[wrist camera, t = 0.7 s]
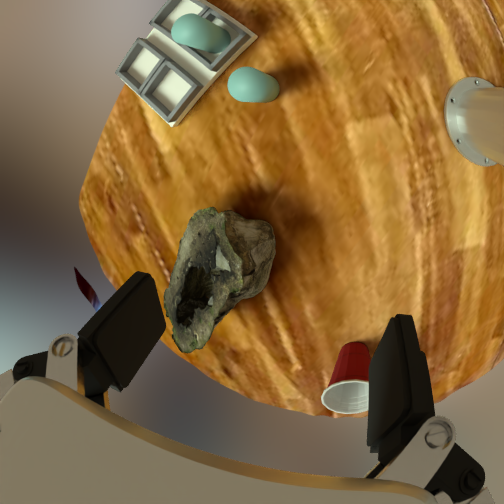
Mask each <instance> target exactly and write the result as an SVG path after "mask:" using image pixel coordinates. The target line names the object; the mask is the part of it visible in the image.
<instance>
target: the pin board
mask: <svg viewBox="0 0 504 504" xmlns="http://www.w3.org/2000/svg"><path fill="white" fill-rule="evenodd" d="M149 24H150V25H151V26H153V27H154V29H153V30H152V31H151V33H150V34H149V35H148V37H147V38H146V39H143V38H137V40H136V41H135V43H134V44H133V46H132V47H131V48H130V50H129V52H128V53H127V54H126V56H125V58H124V59H123V61H122V62H121V64H120V65H119V67H118V69H117V70H116V72H115V73H116V74H117V75H118V76H119V77H120V79H122V80H123V81H124V82H125V83H126V84H127V85H128V86H129V87H130V88H131V89H132V90H133V91H134V92H135V93H136V94H138V95H139V96H140V97H141V98H142V99H143V100H144V101H145V102H146V103H147V104H148V105H149V106H150V107H151V108H152V109H153V110H154V111H155V112H156V113H158V114H159V115H160V116H161V117H162V118H163V119H164V120H165V121H166V122H167V123H168V124H169V125H170V126H171V127H176V126H178V124H179V123H180V122H181V121H182V119H183V118H184V117H185V115H186V114H187V113H188V112H189V111H190V109H191V108H192V107H193V106H194V104H195V103H196V102H197V101H198V100H199V98H200V97H201V96H202V95H203V94H204V93H205V91H206V90H207V89H208V88H209V87H210V86H211V85H212V84H213V82H214V81H215V80H216V79H217V78H218V77H219V76H220V75H221V74H222V73H223V72H224V71H225V69H226V68H227V67H228V66H229V65H230V64H231V63H232V62H233V61H234V60H235V59H236V58H237V57H238V56H239V55H240V54H241V53H242V52H243V51H244V50H245V49H246V48H247V47H248V46H249V45H250V44H251V43H253V42H254V41H255V40H256V39H257V38H258V36H257V35H256V34H254V33H253V32H252V31H250V30H249V29H248V28H246V27H245V26H244V25H242V24H241V23H239V22H238V21H237V20H235V19H234V18H232V17H231V16H229V15H228V14H226V13H225V12H223V11H222V10H220V9H219V8H217V7H216V6H214V5H212V4H211V3H209V2H207V1H206V0H168V1H167V2H166V3H165V4H164V5H163V7H162V8H161V9H160V10H159V11H158V13H157V14H156V15H155V16H154V18H153V19H152V20H151V21H150V22H149Z"/></svg>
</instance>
